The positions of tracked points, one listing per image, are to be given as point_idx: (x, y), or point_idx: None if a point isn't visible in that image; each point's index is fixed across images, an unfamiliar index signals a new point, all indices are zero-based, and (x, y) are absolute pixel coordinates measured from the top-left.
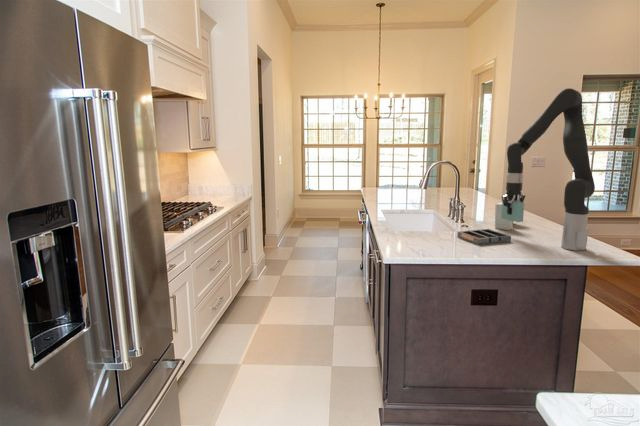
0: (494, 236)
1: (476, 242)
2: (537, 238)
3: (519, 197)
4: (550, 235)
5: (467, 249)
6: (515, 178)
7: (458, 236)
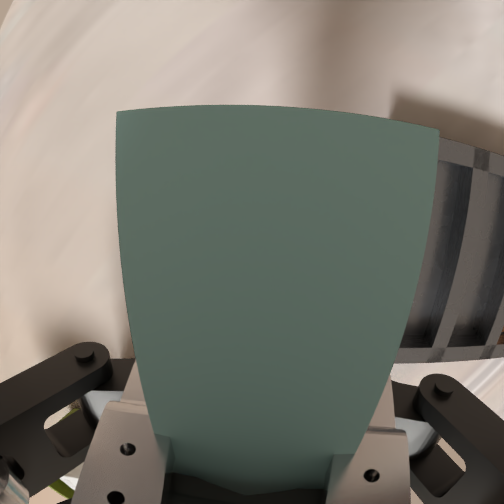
0: (483, 193)
1: None
2: None
3: (26, 500)
4: (38, 174)
5: None
6: None
7: None
